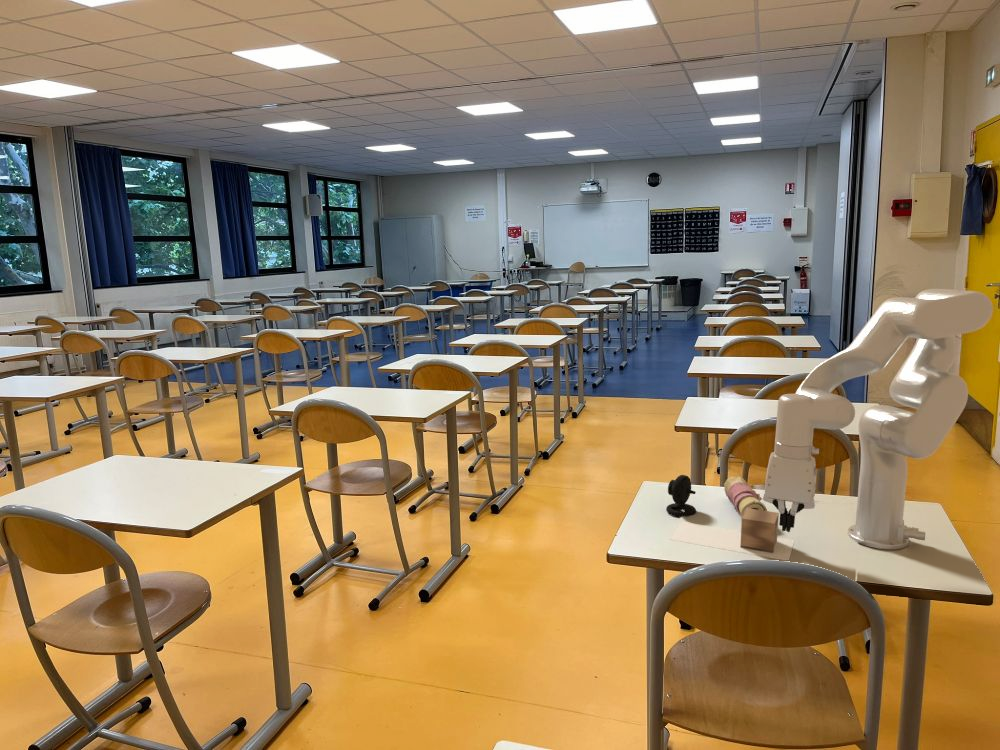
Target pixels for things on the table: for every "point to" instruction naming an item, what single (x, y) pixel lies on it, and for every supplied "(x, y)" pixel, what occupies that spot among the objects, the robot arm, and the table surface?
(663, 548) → the table surface
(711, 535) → the mat
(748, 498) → the scroll
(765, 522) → the block
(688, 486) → the webcam
